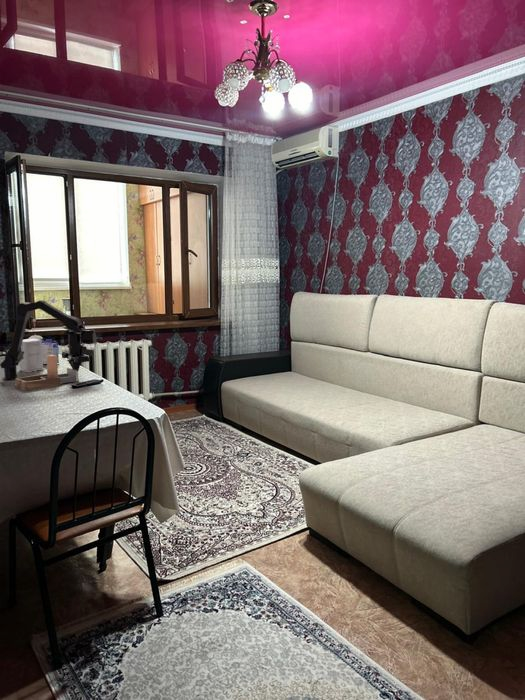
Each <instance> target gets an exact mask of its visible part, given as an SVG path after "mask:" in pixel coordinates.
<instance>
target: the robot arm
mask: <svg viewBox="0 0 525 700" xmlns="http://www.w3.org/2000/svg"><path fill="white" fill-rule="evenodd" d="M37 310H41V311H43V312H44V313H46V314H48V315H50V316H51V317H53V318H55V319H56V320H58V321H60V322H61V323H62V325H63V326H64V327H65V328H66V330H65V332H64V333H63V335H68V345H67V348H68V351H65V352H63V353H61V358H62V359H66V358H68V359H67V360H66V361H67V362H68V364H69V366H70V368H71V369H73V370H77V371H78V372H79V371H80V367H81V364H82V363H86V362H87V363H88V362H90V357H92V354H93V351H94V350H92V349H88V348H87V346H84V345H83V344H94V345H95V344H96V343H97V337H98V336H97V334H96V331H95V329H90V330H89V329H86V327H85V326H84V324H82V321H81V319H80V318H78V317H76V316H73V315H71V314H67V313H64V312H63V311H61V310H59V308H56V307H55V306H54V305H52V304H50V303H48V302H47V301H46V300H45V299H43V300H37V301H34V302H28V301H26V302H22V303H18V304H17V305H16V310H15V312H16V313H15V314H16V323H15V328H14V333H13V336H12V341H11V345H10V347H9V349H8V350H7V352H6V353H5V356H4V360H3V361H2V362H1V363H0V368H1V369H3V375H4V376H2V377H1V378H2V379H3V380H6V381H12V380H15V378H20V377H19V376H18V372H17V366H19V365H20V361H21V359H23V354H24V351H22V350H21V345H22V341H23V340H24V336H25V332H26V328H27V323H28V321H29V319H30V318H31V316H32V314H33V312H34V311H37ZM82 343H83V344H82Z"/></svg>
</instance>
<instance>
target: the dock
mask: <svg viewBox="0 0 525 700" xmlns="http://www.w3.org/2000/svg"><path fill="white" fill-rule="evenodd" d="M44 376H47V373H41V374H35V375H28V376H21V377H20V378H15V379H14V383H15V385H14V386H15V388H18V389H21V390H22V389H23V390H22V391H24V392H27V390H28V391H33V389H35V390H40V389H39V388H41V389H46V387H47V388H51V386H53V387H59V386H61V384H62V383H61V380H60V377H55V378H48V379H42V380H40V377H44ZM58 385H59V386H58Z"/></svg>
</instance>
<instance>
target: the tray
mask: <svg viewBox="0 0 525 700" xmlns="http://www.w3.org/2000/svg"><path fill="white" fill-rule="evenodd" d="M58 377H60V380H61V384H66V383H72V382H78V381H79V371H77V370H73V369H72V368H71V367H70V368H69V367H66V372H65V373H58ZM42 379H48V378H47V376H44V377H40V380H42Z"/></svg>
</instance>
